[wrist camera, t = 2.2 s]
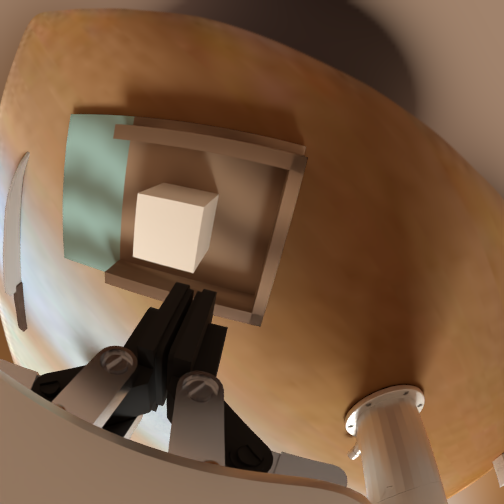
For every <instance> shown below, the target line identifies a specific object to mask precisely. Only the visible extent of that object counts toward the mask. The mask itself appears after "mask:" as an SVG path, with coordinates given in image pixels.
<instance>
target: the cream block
mask: <svg viewBox="0 0 504 504" xmlns="http://www.w3.org/2000/svg"><path fill="white" fill-rule="evenodd" d="M218 197H219V194H216V193H212V192H207V191H202V190H197V189H193V188H188V187H183V186H178V185H173V184H168V183H162V184H159V185H157V186H154V187H152V188H149V189H147V190H144V191H142V192H139V193H138V195H137V204H136V215H135V228H134V243H133V257H136V258H139V259H143V260H146V261H150V262H154V263H157V264H161V265H165V266H168V267H172V268H176V269H179V270H183V271H187V272H191V273H194V271H195V270H196V268H197V266H198V265H199V263H200V262H201V260H202V259H203V257H204V255H205V254H206V252H207V251H208V249H209V245H210V239H211V234H212V228H213V223H214V217H215V212H216V207H217V202H218Z"/></svg>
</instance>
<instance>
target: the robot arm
mask: <svg viewBox="0 0 504 504" xmlns="http://www.w3.org/2000/svg"><path fill="white" fill-rule="evenodd" d="M216 295H217V292H215V291H211V290H207V289H203V291H202V292H200V291H197V293H196V295H195V297H194V299H193V296H194V290H193V289H190V285H187V284H184V283H180V282H176V283H175V285H174V286H173V288H172V289H171V291H170V292H169V294H168V296H167V297H166V299H165V300H164V302H163V304H162V305H161V307H160V308H159V309H156V308H152V307H150V308H149V309H148V310H147V312H146V313H145V315H144V316H143V318H142V319H141V321H140V322H139V324H138V325H137V327H136V328H135V330H134V331H133V333H132V335H131V336H130V338H129V339H128V341H127V342H126V344H125V345H124V347H122V346H109V347H106V348H104V349H102V350H101V351H100V352H99V353H98V354H97V355H96V356H95V357H94V358H93V359H92V360H91V361H90V362H89V363H88V364H87V365H85V366H80V367H76V368H71V369H66V370H62V371H57V372H51V373H47V374H44V375H41V376H40V375H39V374H38V372H36V371H33V370H30V369H27V368H24V367H21V366H18V365H16V364H13V363H10V362H7V361H5V360H2V359H0V504H448V503H447V499H446V496H445V492H444V488H443V484H442V481H441V478H440V474H439V471H438V467H437V464H436V461H435V457H434V454H433V451H432V448H431V445H430V442H429V439H428V436H427V433H426V430H425V427H424V425H423V422H422V419H421V416H420V414H419V413H420V412H421V410H422V408H423V406H424V403H425V398H424V395H423V393H422V391H421V390H420V389H419V388H418V387H415V386H412V385H398V386H393V387H389V388H385V389H382V390H380V391H377V392H375V393H373V394H371V395H369V396H367V397H365V398H364V399H362V400H361V401H359V402H358V403H357V404H356V405H354V406H353V407H352V408H351V409H350V411H349V412H348V414H347V415H346V418H345V427H346V430H347V432H348V433H350V434H351V435H353V436H356V438H357V442H356V443H355V446H354V447H353V448H352V449H351V450H350V451H349V452H348V457H349V458H350V459H356V458H357V457H358V456H359V455H360V454H361V458H362V464H363V471H364V477H365V485H366V492H367V498H366V497H365V496H363V495H362V494H360V493H358V492H356V491H354V490H352V489H350V488H347V476H346V474H345V472H344V471H343V470H342V469H341V468H340V467H338V466H335V465H332V464H327V463H323V462H319V461H314V460H310V459H306V458H303V457H299V456H295V455H292V454H288V453H285V452H281V454H280V453H276V452H273V451H271V450H270V449H269V448H268V446H267V445H266V444H265V443H264V442H263V441H262V440H261V439H260V438H259V437H258V436H257V435H256V434H255V433H254V432H253V431H252V430H251V429H250V428H249V427H248V426H247V425H246V424H245V423H244V422H243V421H242V420H241V418H240V417H239V416H238V415H237V414H236V413H235V412H234V411H233V410H232V409H231V407H230V406H229V405H228V404H227V403H226V402H225V401H224V389H223V385H222V383H221V382H220V380H219V379H218V378H216V376H217V372H218V367H219V363H220V359H221V355H222V350H223V346H224V342H225V337H226V333H227V328H228V327H223V326H219V325H215V324H211V322H212V317H213V311H214V306H215V300H216ZM166 398H167V418H168V420H169V421H170V422H171V424H172V425H171V433H170V442H169V451H168V453H167V452H164V451H161V450H158V449H155V448H151V447H149V446H146V445H143V444H140V443H137V442H134V441H132V440H129V438H130V437H131V435H132V433H133V432H134V430H135V429H136V427H137V426H138V424H139V423H140V421H141V419H142V417H143V414H146V413H149V412H150V411H151V410H152V411H155V412H156V410H157V407H158V405H161V406H163V405H164V403H165V400H166Z"/></svg>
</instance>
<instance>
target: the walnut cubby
mask: <svg viewBox="0 0 504 504" xmlns="http://www.w3.org/2000/svg"><path fill="white" fill-rule="evenodd" d="M305 150H306V146H302V145H298V144H295V143H291V142H287V141H283V140H279V139H274V138H270V137H266V136H261V135H257V134H252V133H247V132H242V131H237V130H232V129H227V128H221V127H215V126H209V125H203V124H197V123H190V122H182V121H175V120H166V119H157V118H147V117H135V116H120V115H97V114H71V117H70V123H69V130H68V137H67V146H66V155H65V167H64V183H63V241H64V258H67V259H69V260H72V261H75V262H78V263H81V264H84V265H87V266H90V267H93V268H96V269H98V270H102V271H105V283H107V284H110V285H113V286H116V287H119V288H122V289H125V290H128V291H131V292H134V293H137V294H141V295H144V296H147V297H150V298H154V299H157V300H160V301H164V300H165V299H166V297H167V296H168V294H169V292H170V291H171V289H172V288H173V286H174V285H175V283H176V282H180V283H184V284H187V285H190V289H193V290H194V296H193V299H194V297H195V295H196V293H197V291H200V292H202V291H203V289H207V290H211V291H215V292H217V295H216V300H215V306H214V311H213V315H214V316H218V317H222V318H226V319H230V320H234V321H239V322H243V323H247V324H251V325H256V326H261V323H262V319H263V316H264V313H265V309H266V306H267V303H268V299H269V296H270V293H271V289H272V286H273V283H274V279H275V276H276V272H277V269H278V265H279V262H280V258H281V255H282V251H283V248H284V244H285V241H286V237H287V234H288V230H289V227H290V223H291V219H292V216H293V212H294V208H295V205H296V201H297V197H298V193H299V190H300V186H301V182H302V178H303V174H304V171H305V167H306V163H307V159H308V157H305V156H304V154H305ZM162 183H168V184H173V185H178V186H183V187H188V188H193V189H197V190H202V191H207V192H212V193H216V194H219V197H218V202H217V207H216V212H215V217H214V223H213V228H212V234H211V239H210V245H209V249H208V251H207V252H206V254H205V255H204V257H203V259H202V260H201V262H200V263H199V265H198V266H197V268H196V270H195V271H194V273H191V272H187V271H183V270H179V269H176V268H172V267H168V266H165V265H161V264H157V263H154V262H150V261H146V260H143V259H139V258H136V257H133V243H134V228H135V215H136V204H137V195H138V193H139V192H142V191H144V190H147V189H149V188H152V187H154V186H157V185H159V184H162Z"/></svg>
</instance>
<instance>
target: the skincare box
mask: <svg viewBox="0 0 504 504" xmlns="http://www.w3.org/2000/svg"><path fill="white" fill-rule="evenodd" d="M493 465H494V468H495V471H496V474H497V477H498V481H499V484H500V487H502V486H504V453H503V454H501V455H500V456H499V457H498V458H496V459H495V460H494V461H493Z"/></svg>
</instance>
